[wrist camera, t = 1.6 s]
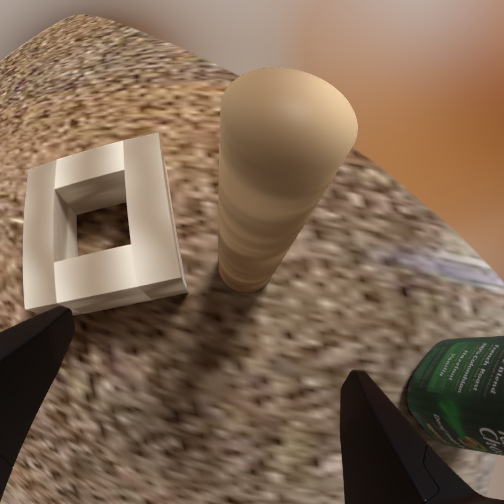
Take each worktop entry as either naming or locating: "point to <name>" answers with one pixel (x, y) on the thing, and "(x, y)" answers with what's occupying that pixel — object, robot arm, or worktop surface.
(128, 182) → the socket block
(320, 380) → the worktop surface
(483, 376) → the coffee jar
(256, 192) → the wooden stick
